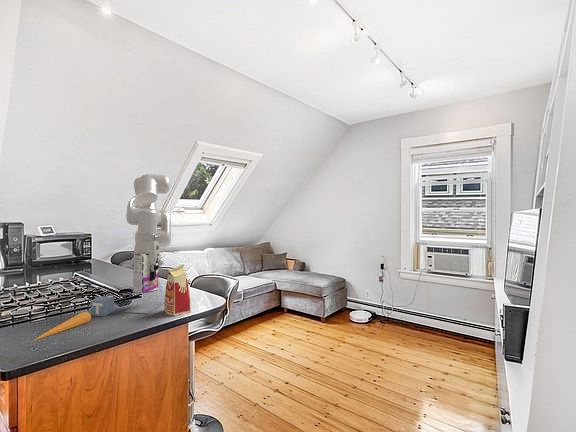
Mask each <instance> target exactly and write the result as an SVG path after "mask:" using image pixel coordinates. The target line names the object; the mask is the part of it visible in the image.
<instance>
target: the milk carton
mask: <svg viewBox="0 0 576 432" xmlns="http://www.w3.org/2000/svg"><path fill="white" fill-rule="evenodd" d="M184 266H185V264H184V263H183V264H181V265H178V266H176V267H173V268H170V269H168V270H167V271H168V273H167V278H166V283H165V284H166V285H165V294H164V301H163V302H164V304H163V308H164V309H163V310H164V312H165V313H166V315H169V316H180V315H183V314H184V313H185V314H189V313H188V312H190V313H191V312H192V310H191V308H192V306H191V300H192V299H191V291H190V285H189V280H188V277H187V273H186V269H185V267H184ZM179 314H180V315H179ZM185 314H184V315H185Z"/></svg>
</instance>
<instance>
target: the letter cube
mask: <svg viewBox="0 0 576 432" xmlns="http://www.w3.org/2000/svg"><path fill="white" fill-rule="evenodd" d="M114 312H115V297H113V296H100V295H99V296H97V297H96V298H94V299H91V300H90V312H89V313H90V315H91V316H97V317H106V316H108V315H109V314H112V313H114Z"/></svg>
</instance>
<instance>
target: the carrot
mask: <svg viewBox="0 0 576 432" xmlns="http://www.w3.org/2000/svg"><path fill="white" fill-rule="evenodd" d="M91 320H92V315H90V312H89V311H82V312H80V313H78V314H77V315H74V316H73V317H70V319H67V320H66V321H63V322H62V323H60V324H59V325H56V326H55V327H53V328H51V329H49V330H48V331H46V332H44V333H42V334H41V335H40V336H38V337H36V338H35V339H33V340H32V342H34V341H37V340H40V339H43V338H47V337H50V336H53V335H55V334H59V333H62V332H65V331H68V330H70V329H74V328H77V327H79V326H82V325H85V324H87V323H89V322H90V321H91Z"/></svg>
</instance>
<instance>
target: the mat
mask: <svg viewBox="0 0 576 432" xmlns="http://www.w3.org/2000/svg"><path fill="white" fill-rule="evenodd" d="M161 306H164V301H149V300H143V301H141V302H139V303H137V304H136V305H133V306H132V307H129V308H128V309H126V310H125V311H124V312H123V313H127V314H140V315H149V314H150V313H151V312H153V311H155V310H156V309H158V308H159V307H161Z"/></svg>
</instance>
